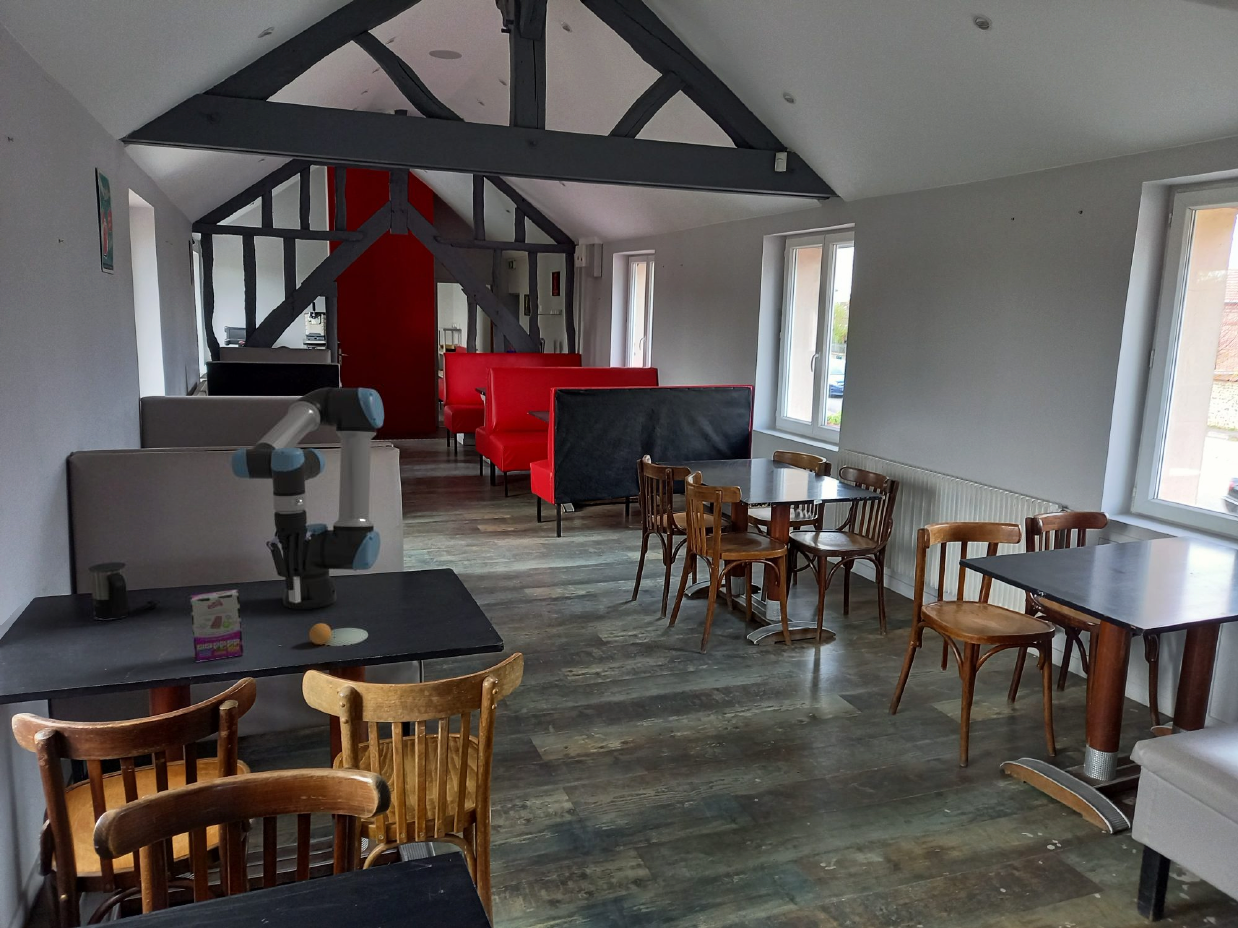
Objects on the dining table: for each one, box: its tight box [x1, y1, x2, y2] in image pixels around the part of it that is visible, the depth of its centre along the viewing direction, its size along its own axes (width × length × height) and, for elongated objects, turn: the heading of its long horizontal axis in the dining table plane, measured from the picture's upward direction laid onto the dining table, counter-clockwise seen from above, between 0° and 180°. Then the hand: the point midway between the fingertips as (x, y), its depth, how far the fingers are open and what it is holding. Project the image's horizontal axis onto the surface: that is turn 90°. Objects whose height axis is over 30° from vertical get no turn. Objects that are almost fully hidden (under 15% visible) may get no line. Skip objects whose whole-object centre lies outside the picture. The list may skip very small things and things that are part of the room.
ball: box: [309, 622, 331, 646], centre depth 229 cm, size 6×6×6 cm
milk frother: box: [87, 561, 163, 619], centre depth 249 cm, size 14×16×15 cm
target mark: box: [324, 627, 369, 647], centre depth 234 cm, size 13×13×1 cm
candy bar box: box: [189, 589, 244, 661], centre depth 219 cm, size 11×5×16 cm, turn 117°
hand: (294, 601), depth 221 cm, fingers closed
